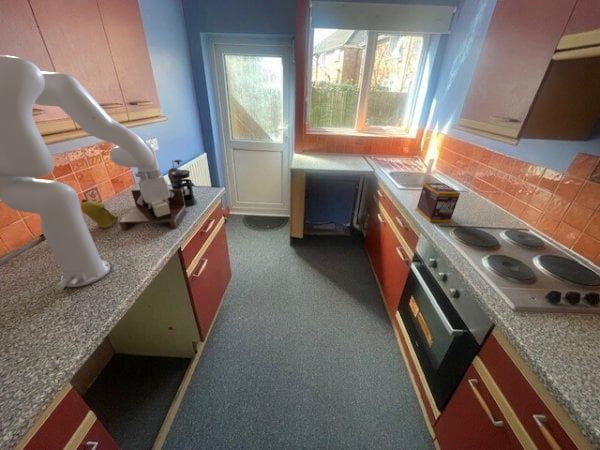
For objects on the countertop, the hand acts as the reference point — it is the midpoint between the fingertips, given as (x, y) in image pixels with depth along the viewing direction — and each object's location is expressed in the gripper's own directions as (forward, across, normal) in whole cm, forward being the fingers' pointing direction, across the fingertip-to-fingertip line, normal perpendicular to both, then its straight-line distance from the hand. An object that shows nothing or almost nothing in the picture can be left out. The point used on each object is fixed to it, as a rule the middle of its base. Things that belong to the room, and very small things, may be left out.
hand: (160, 213), depth 111 cm
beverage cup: (+5, +20, +28) cm, 35 cm away
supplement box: (+5, +100, -86) cm, 133 cm away
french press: (+5, +17, +14) cm, 23 cm away
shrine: (+5, -19, +13) cm, 23 cm away
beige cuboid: (+1, 0, +1) cm, 1 cm away
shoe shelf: (+5, -1, +4) cm, 7 cm away
